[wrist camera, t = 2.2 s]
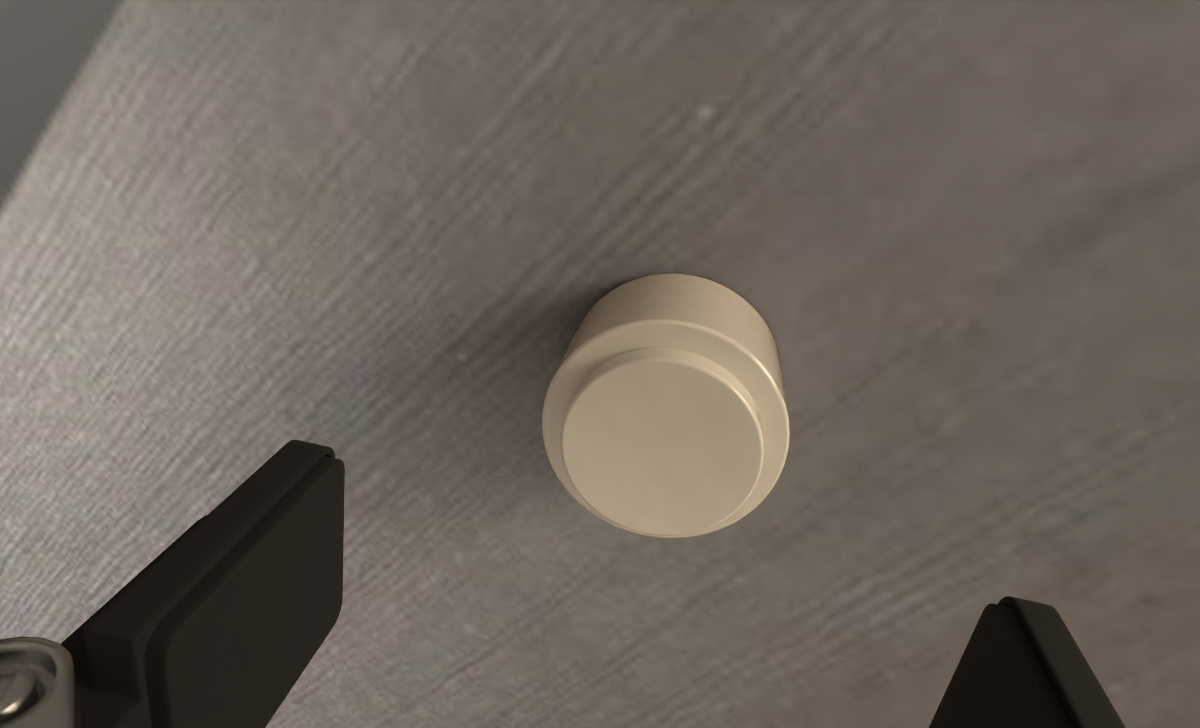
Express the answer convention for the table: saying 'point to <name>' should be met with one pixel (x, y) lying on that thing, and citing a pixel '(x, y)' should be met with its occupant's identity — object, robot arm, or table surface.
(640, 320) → the tan tin with lid
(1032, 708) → the robot arm
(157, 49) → the table surface
